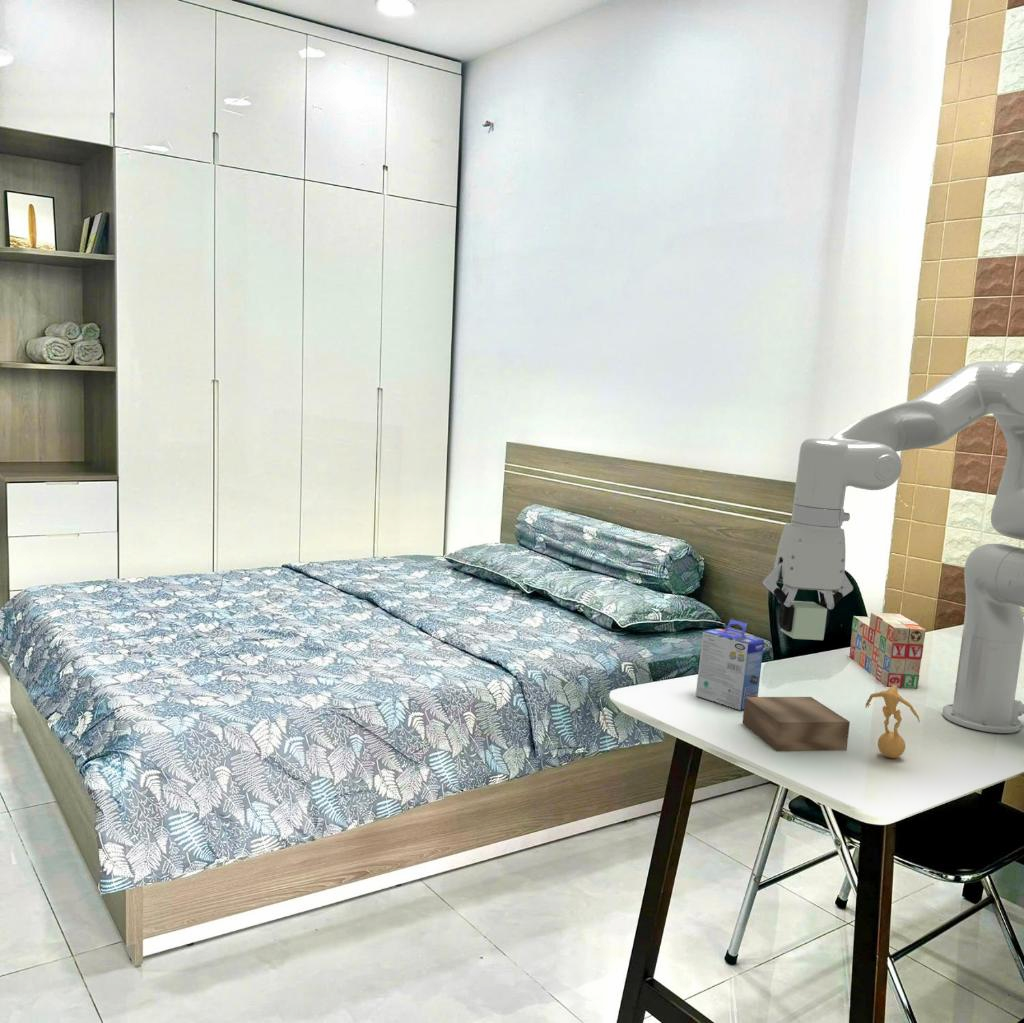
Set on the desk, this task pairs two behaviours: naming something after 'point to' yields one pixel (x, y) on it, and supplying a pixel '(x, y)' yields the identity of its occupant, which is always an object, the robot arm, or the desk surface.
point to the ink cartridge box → (729, 666)
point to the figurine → (889, 741)
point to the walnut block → (795, 724)
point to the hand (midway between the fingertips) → (802, 629)
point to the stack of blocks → (888, 648)
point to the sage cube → (808, 621)
